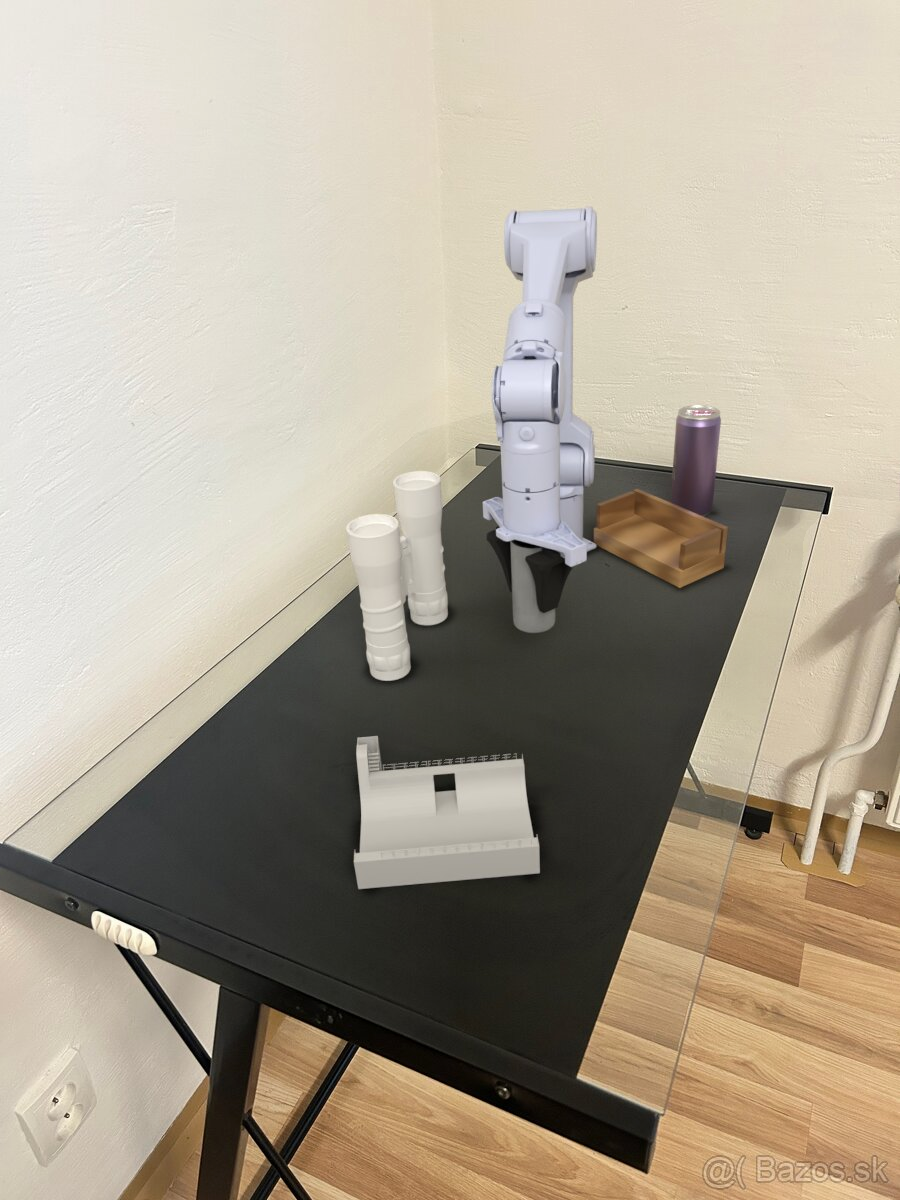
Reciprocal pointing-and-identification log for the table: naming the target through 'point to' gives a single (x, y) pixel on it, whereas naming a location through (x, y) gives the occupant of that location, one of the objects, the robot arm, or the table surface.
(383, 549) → the binoculars
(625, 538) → the wooden tray
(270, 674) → the table surface
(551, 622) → the grey tube
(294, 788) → the table surface
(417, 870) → the skate ramp
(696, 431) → the beverage can
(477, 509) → the table surface
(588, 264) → the robot arm
